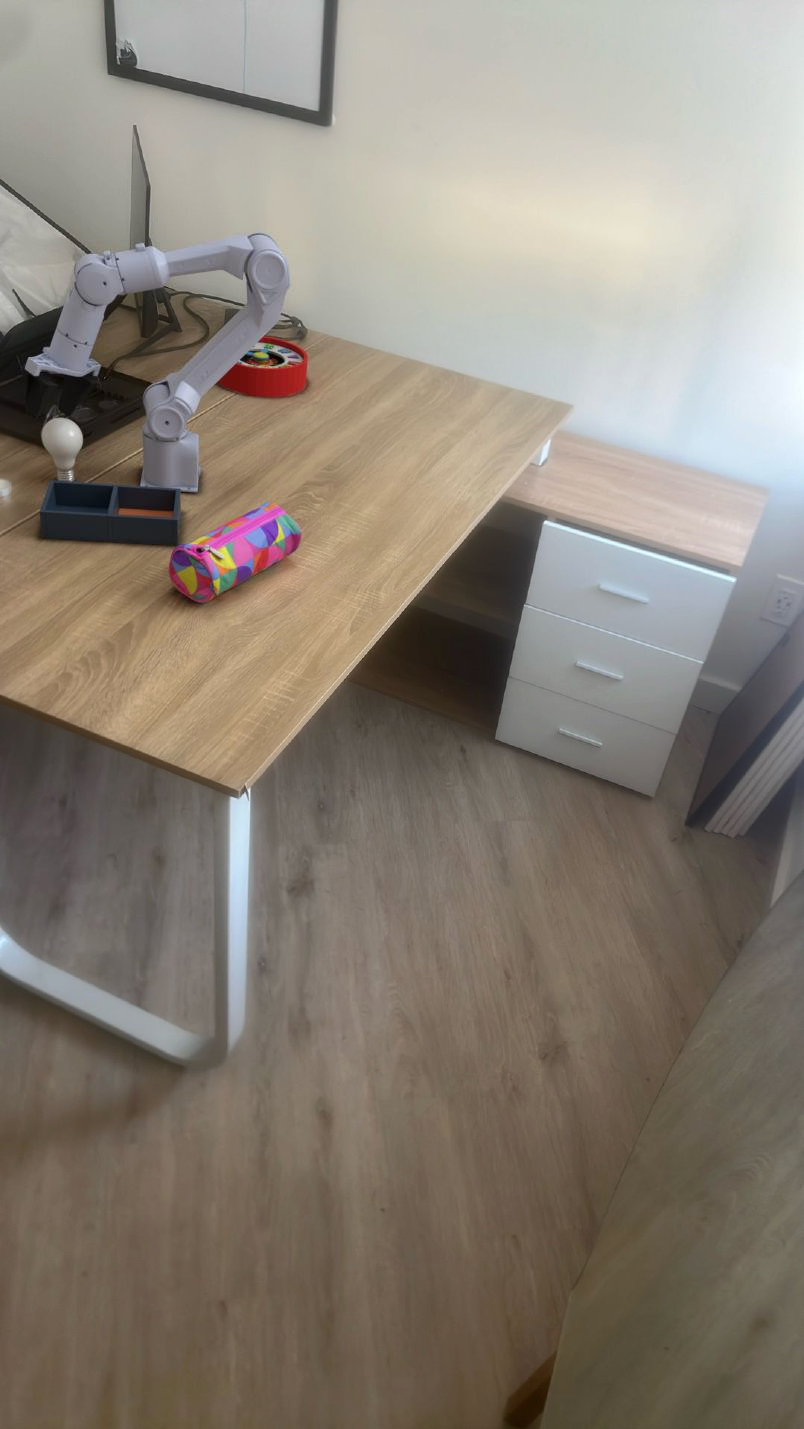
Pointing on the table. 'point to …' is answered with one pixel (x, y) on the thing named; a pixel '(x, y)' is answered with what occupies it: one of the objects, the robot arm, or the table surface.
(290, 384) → the toy clock
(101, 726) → the table surface
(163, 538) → the organiser
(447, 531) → the table surface
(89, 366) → the robot arm
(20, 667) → the table surface
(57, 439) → the lightbulb
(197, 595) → the pencil case
